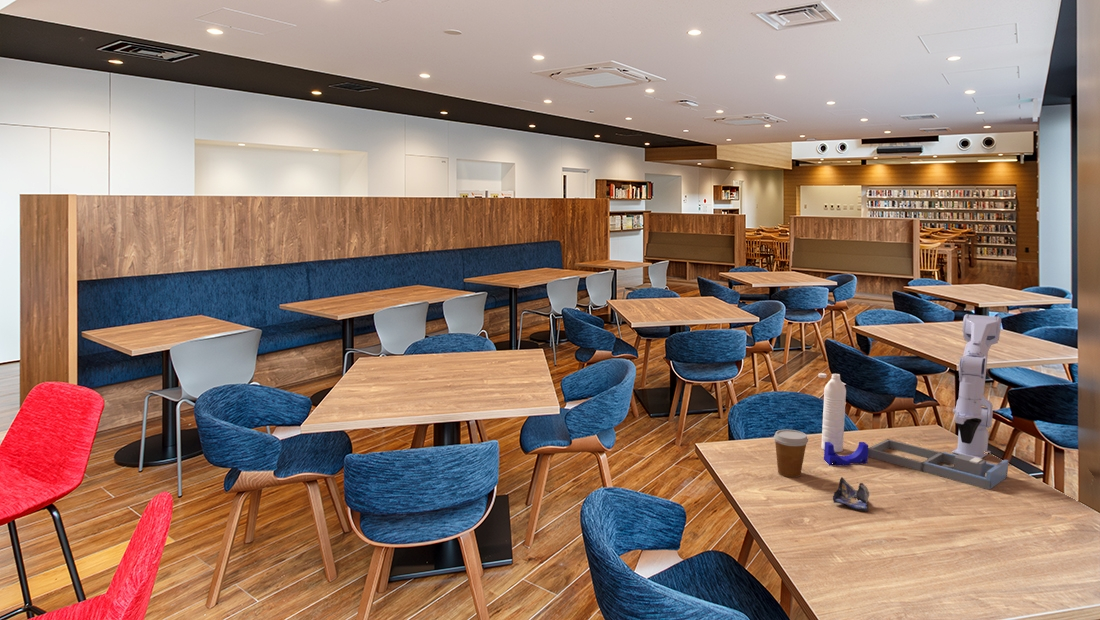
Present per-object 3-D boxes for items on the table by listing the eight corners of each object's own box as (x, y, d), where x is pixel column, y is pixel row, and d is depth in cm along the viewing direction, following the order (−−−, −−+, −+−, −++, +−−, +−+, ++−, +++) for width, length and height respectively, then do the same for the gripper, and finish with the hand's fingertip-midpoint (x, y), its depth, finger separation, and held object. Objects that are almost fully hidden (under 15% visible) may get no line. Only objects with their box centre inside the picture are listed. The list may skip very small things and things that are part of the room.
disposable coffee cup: (767, 468, 202) (768, 429, 200) (797, 466, 203) (799, 428, 201) (780, 480, 193) (782, 440, 191) (812, 479, 193) (814, 439, 192)
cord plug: (944, 466, 202) (946, 450, 201) (985, 477, 194) (986, 460, 193) (939, 470, 199) (940, 453, 199) (979, 480, 191) (981, 463, 190)
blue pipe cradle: (829, 466, 204) (830, 447, 203) (823, 460, 208) (824, 442, 207) (869, 466, 203) (870, 447, 203) (862, 460, 208) (864, 441, 207)
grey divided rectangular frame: (887, 446, 220) (888, 431, 219) (1007, 477, 194) (1008, 460, 193) (866, 456, 211) (867, 441, 210) (989, 489, 185) (990, 472, 184)
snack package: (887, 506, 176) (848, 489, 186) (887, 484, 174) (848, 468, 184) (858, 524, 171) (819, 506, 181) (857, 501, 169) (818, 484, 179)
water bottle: (838, 445, 221) (842, 371, 217) (846, 452, 214) (850, 376, 211) (811, 445, 221) (814, 371, 217) (818, 452, 215) (822, 376, 211)
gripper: (964, 390, 201) (960, 433, 203) (945, 399, 192) (941, 444, 194) (991, 394, 196) (987, 439, 198) (972, 404, 187) (968, 451, 189)
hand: (966, 442), depth 195 cm, fingers closed
